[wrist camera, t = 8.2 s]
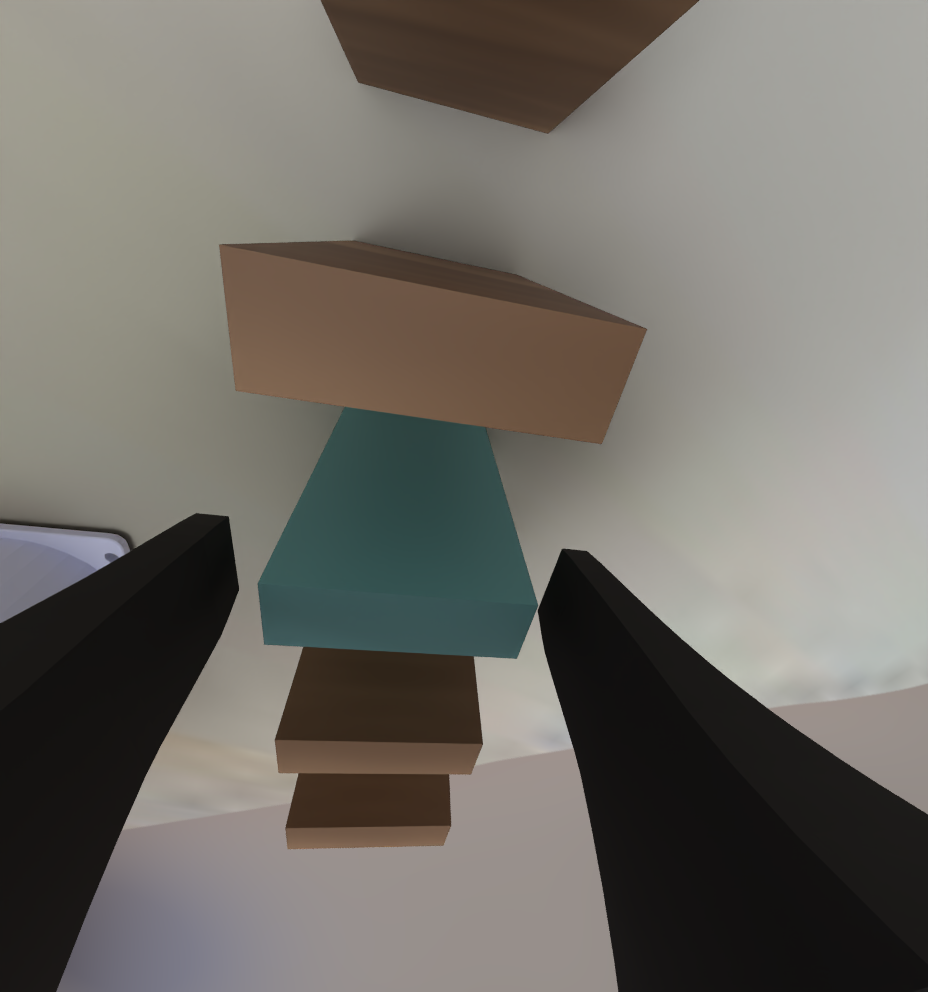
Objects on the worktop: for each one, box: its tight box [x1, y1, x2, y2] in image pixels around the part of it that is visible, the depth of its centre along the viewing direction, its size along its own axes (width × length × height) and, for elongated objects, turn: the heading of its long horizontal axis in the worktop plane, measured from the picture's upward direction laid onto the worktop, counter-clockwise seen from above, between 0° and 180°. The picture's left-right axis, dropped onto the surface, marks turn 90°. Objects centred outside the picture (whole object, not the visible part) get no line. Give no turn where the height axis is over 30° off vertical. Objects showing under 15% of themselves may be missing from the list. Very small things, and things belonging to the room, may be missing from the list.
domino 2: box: [275, 647, 483, 774], centre depth 14 cm, size 2×5×9 cm, turn 80°
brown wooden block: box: [286, 773, 451, 849], centre depth 17 cm, size 2×5×9 cm, turn 79°
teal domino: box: [258, 407, 538, 659], centre depth 11 cm, size 2×5×9 cm, turn 79°
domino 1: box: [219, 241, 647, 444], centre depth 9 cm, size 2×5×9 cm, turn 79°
